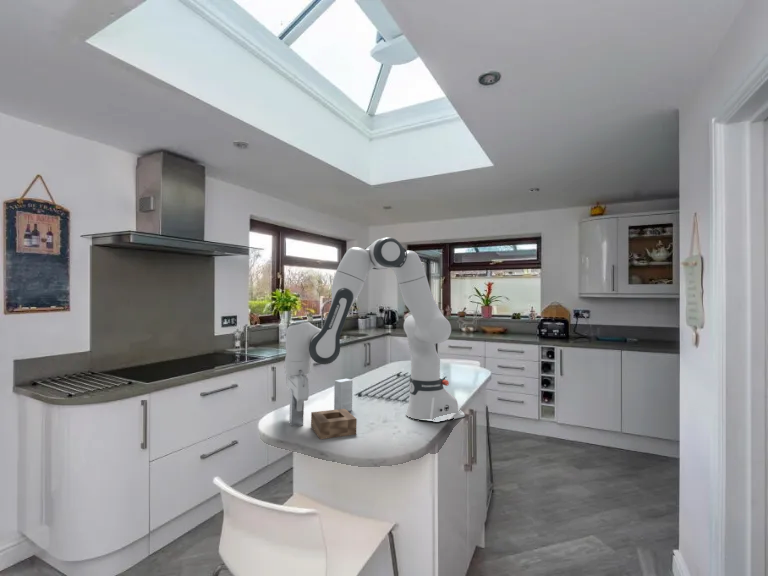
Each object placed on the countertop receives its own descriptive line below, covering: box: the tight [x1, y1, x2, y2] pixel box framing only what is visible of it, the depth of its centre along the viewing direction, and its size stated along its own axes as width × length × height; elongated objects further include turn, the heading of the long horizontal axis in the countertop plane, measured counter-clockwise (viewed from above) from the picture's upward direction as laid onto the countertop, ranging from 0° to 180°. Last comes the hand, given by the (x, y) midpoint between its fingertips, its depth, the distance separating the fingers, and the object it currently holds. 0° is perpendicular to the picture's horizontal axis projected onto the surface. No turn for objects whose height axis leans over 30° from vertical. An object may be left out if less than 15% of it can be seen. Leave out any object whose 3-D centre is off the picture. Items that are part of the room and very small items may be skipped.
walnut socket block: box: [310, 409, 358, 440], centre depth 125 cm, size 12×12×5 cm
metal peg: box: [288, 388, 305, 427], centre depth 131 cm, size 4×4×12 cm
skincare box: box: [333, 378, 353, 412], centre depth 147 cm, size 6×4×12 cm
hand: (296, 407), depth 131 cm, fingers open, 6 cm apart
